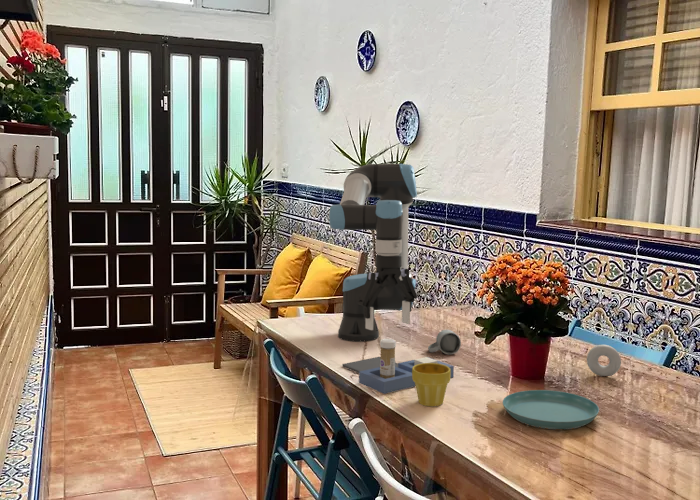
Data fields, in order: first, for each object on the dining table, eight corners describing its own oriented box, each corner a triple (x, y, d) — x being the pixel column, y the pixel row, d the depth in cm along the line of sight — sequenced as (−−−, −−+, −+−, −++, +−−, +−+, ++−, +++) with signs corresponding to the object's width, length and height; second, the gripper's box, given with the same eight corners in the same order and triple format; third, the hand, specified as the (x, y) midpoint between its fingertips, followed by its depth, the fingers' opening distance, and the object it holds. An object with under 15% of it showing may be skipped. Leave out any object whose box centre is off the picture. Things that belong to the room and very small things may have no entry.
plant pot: (425, 411, 187) (425, 375, 186) (404, 399, 197) (405, 365, 195) (457, 405, 192) (458, 370, 191) (435, 394, 201) (436, 360, 200)
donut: (620, 377, 217) (622, 345, 216) (619, 380, 214) (621, 348, 213) (586, 372, 222) (588, 341, 220) (585, 375, 218) (586, 344, 217)
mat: (342, 366, 228) (342, 364, 227) (379, 358, 236) (379, 356, 236) (370, 378, 215) (370, 375, 215) (408, 369, 224) (408, 367, 224)
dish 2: (398, 374, 220) (398, 363, 219) (427, 367, 227) (427, 356, 226) (423, 384, 210) (424, 372, 210) (453, 377, 217) (453, 365, 217)
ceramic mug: (455, 348, 250) (455, 326, 249) (461, 354, 242) (461, 332, 241) (425, 349, 249) (425, 327, 248) (430, 355, 241) (430, 333, 240)
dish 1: (359, 382, 211) (359, 371, 211) (390, 375, 218) (390, 364, 218) (384, 393, 201) (384, 381, 201) (416, 386, 208) (416, 374, 208)
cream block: (414, 375, 219) (414, 359, 218) (426, 372, 222) (426, 357, 221) (424, 379, 215) (425, 363, 214) (437, 376, 218) (437, 360, 217)
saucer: (552, 395, 201) (552, 384, 201) (619, 424, 180) (620, 411, 180) (483, 409, 190) (483, 397, 190) (546, 441, 169) (547, 427, 169)
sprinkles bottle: (376, 384, 209) (376, 340, 208) (385, 381, 213) (386, 337, 211) (388, 388, 207) (389, 343, 205) (398, 384, 210) (398, 340, 208)
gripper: (361, 258, 194) (361, 334, 197) (429, 252, 209) (428, 322, 211) (345, 255, 200) (345, 329, 203) (413, 249, 215) (412, 318, 217)
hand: (387, 326), depth 207 cm, fingers open, 13 cm apart
